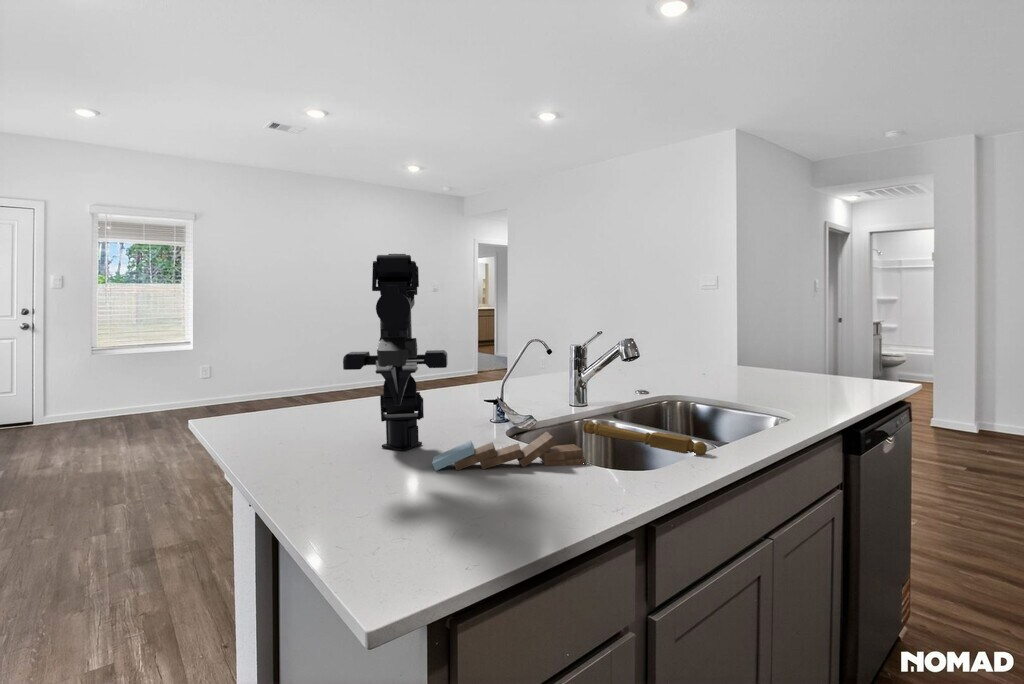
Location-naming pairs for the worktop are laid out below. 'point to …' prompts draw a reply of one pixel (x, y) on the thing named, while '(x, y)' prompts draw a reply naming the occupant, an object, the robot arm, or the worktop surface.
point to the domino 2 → (477, 456)
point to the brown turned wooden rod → (648, 438)
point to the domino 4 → (536, 448)
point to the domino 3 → (503, 456)
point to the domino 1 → (453, 455)
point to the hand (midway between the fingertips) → (398, 405)
